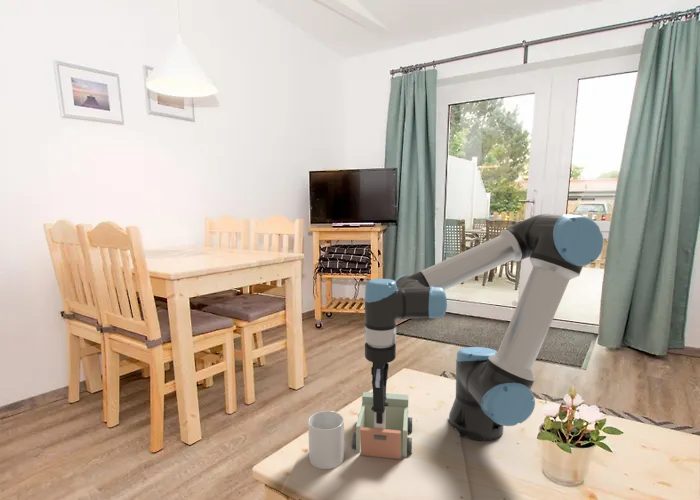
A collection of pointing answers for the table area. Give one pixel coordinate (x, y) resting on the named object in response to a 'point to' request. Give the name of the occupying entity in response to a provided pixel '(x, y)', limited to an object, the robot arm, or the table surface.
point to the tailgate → (380, 443)
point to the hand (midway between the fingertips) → (379, 432)
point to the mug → (326, 439)
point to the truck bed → (386, 419)
